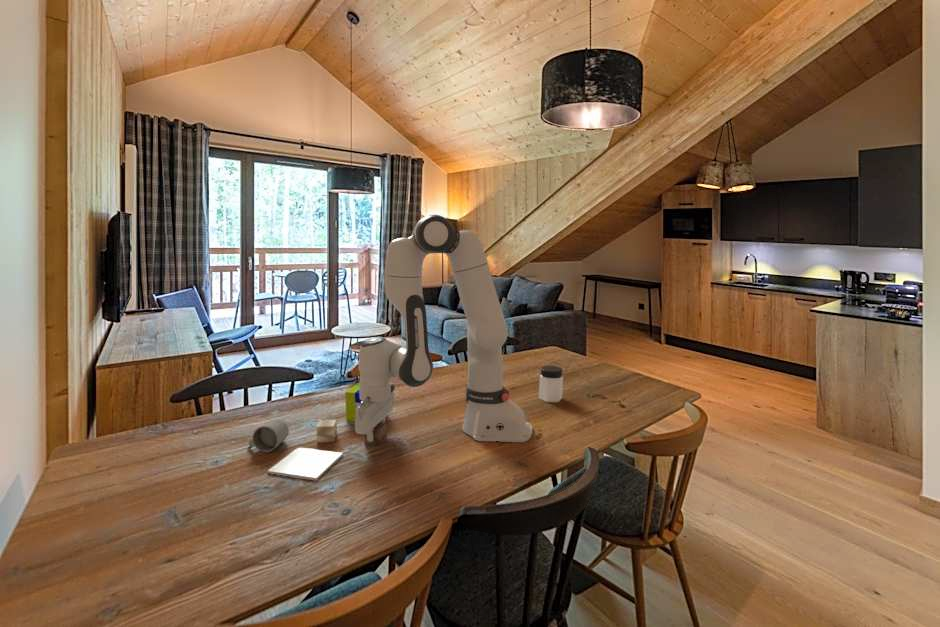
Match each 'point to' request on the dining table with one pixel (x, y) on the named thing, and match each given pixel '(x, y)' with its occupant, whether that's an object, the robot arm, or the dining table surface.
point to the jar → (551, 384)
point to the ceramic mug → (269, 435)
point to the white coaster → (306, 463)
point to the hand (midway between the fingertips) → (375, 435)
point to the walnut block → (378, 434)
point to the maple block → (326, 431)
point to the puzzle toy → (352, 402)
